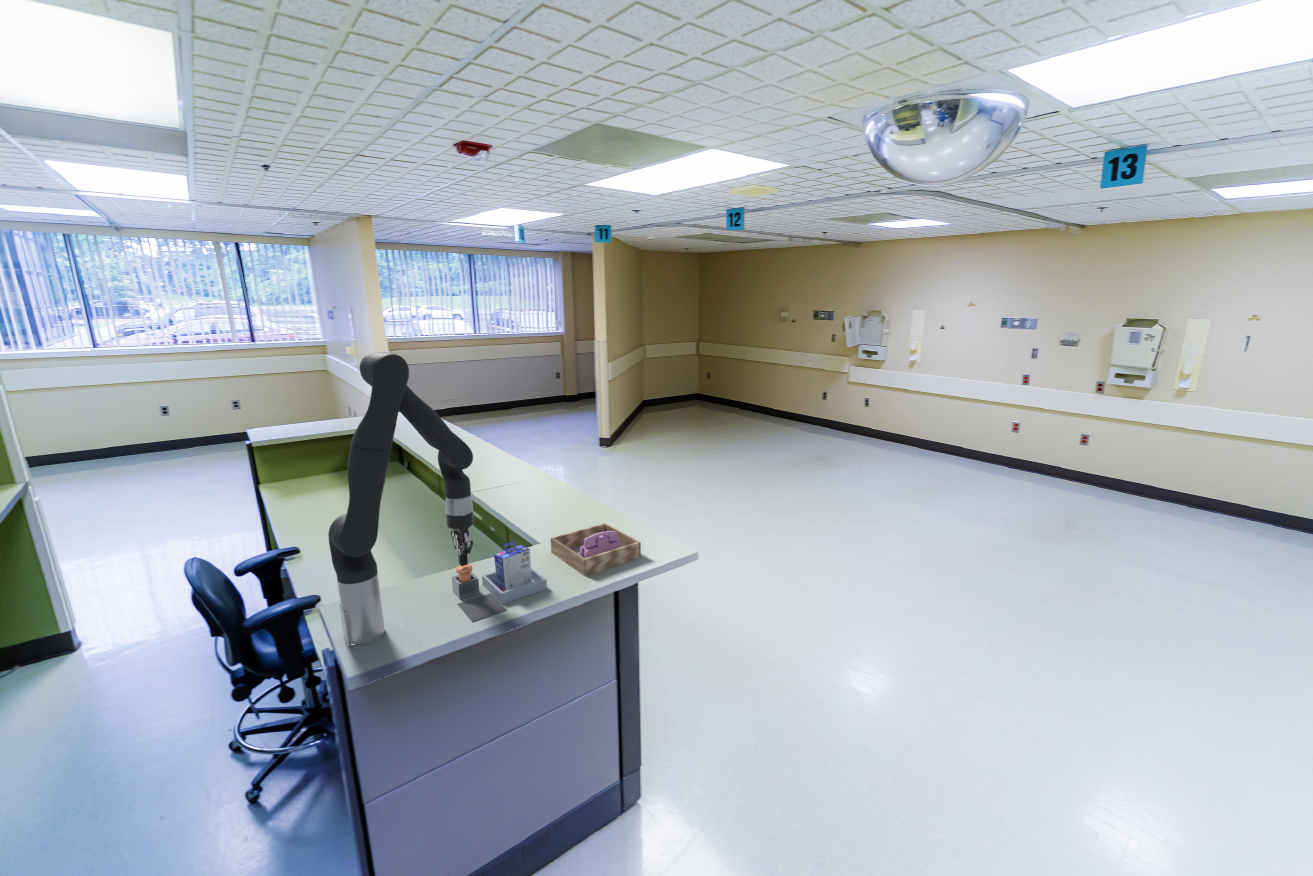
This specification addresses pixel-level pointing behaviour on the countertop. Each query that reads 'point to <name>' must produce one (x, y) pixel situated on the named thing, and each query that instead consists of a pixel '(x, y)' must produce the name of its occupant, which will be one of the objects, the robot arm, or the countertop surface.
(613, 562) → the phone corral
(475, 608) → the mat
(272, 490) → the countertop surface
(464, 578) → the release button
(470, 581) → the button housing
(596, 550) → the toy telephone
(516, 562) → the ink cartridge box
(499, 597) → the collar
